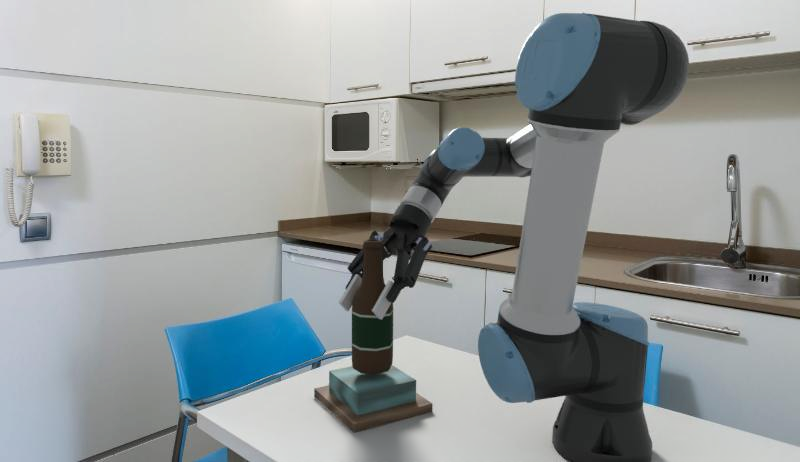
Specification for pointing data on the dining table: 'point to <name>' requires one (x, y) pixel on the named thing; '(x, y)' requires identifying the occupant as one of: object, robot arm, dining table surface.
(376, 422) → the display base
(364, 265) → the beer bottle
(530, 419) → the dining table surface
